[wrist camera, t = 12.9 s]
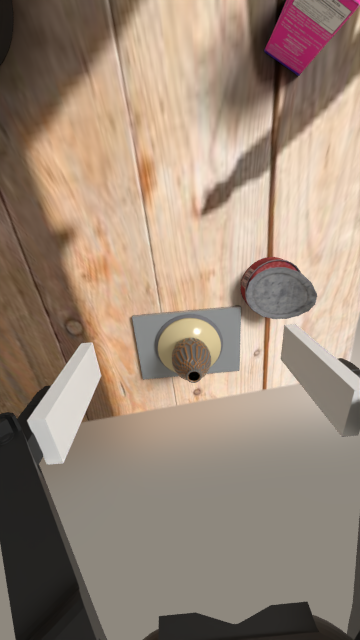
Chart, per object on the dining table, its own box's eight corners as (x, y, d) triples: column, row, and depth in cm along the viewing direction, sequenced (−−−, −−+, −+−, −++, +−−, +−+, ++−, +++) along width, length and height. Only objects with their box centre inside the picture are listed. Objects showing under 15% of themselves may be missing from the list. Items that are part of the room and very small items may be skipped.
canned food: (275, 294, 48) (292, 334, 42) (229, 289, 46) (240, 330, 40) (309, 248, 40) (337, 290, 34) (255, 239, 38) (274, 282, 32)
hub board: (132, 315, 44) (131, 319, 42) (239, 305, 44) (242, 309, 42) (143, 377, 49) (142, 383, 47) (238, 368, 49) (240, 374, 48)
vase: (195, 368, 47) (200, 400, 39) (164, 354, 45) (163, 383, 37) (214, 341, 44) (224, 369, 36) (183, 325, 43) (186, 350, 35)
